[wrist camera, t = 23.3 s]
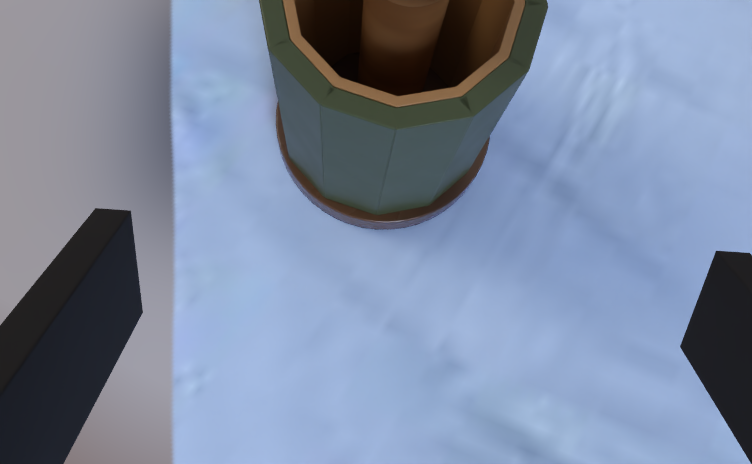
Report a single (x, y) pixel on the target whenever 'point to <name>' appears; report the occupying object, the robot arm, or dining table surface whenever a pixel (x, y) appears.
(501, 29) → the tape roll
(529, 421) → the dining table surface
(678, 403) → the dining table surface
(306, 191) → the peg stand
